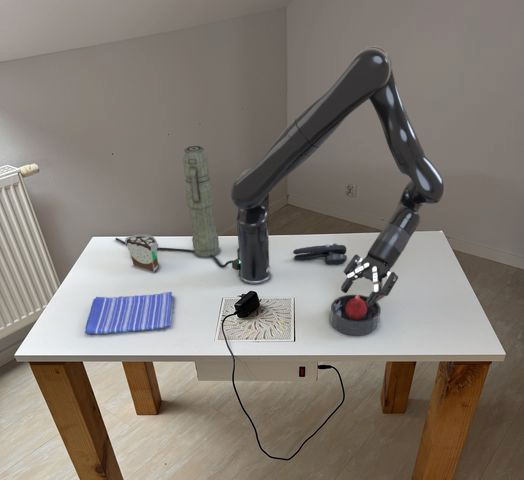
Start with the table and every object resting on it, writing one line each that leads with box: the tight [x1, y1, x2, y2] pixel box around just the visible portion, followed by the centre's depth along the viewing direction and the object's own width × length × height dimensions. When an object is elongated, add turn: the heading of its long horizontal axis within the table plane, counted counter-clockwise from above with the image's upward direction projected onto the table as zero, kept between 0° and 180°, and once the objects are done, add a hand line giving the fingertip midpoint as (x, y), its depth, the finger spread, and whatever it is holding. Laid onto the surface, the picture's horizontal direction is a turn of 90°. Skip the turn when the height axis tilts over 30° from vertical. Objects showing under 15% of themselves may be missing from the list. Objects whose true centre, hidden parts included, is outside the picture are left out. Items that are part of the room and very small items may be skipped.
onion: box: [345, 294, 367, 321], centre depth 129 cm, size 6×6×8 cm
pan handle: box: [376, 295, 386, 303], centre depth 135 cm, size 7×2×2 cm, turn 133°
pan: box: [329, 294, 382, 336], centre depth 130 cm, size 13×13×5 cm
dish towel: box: [84, 291, 174, 335], centre depth 138 cm, size 17×24×3 cm
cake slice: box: [124, 233, 159, 274], centre depth 158 cm, size 12×6×10 cm, turn 58°
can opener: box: [292, 243, 348, 266], centre depth 158 cm, size 18×7×6 cm, turn 81°
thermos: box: [182, 145, 220, 259], centre depth 156 cm, size 9×12×35 cm
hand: (355, 298), depth 126 cm, fingers open, 8 cm apart
